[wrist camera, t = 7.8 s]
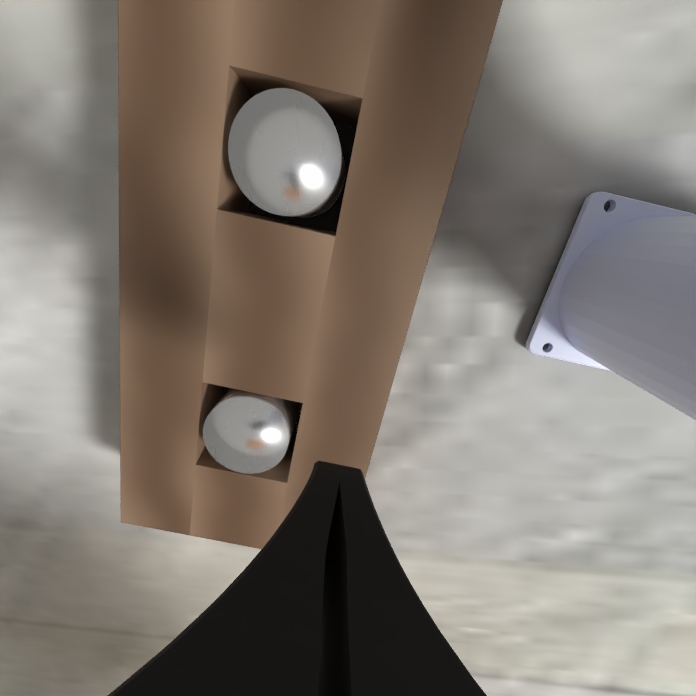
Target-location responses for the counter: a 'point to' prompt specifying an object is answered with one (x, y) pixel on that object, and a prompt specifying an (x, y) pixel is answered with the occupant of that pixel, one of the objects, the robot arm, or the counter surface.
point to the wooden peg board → (274, 237)
